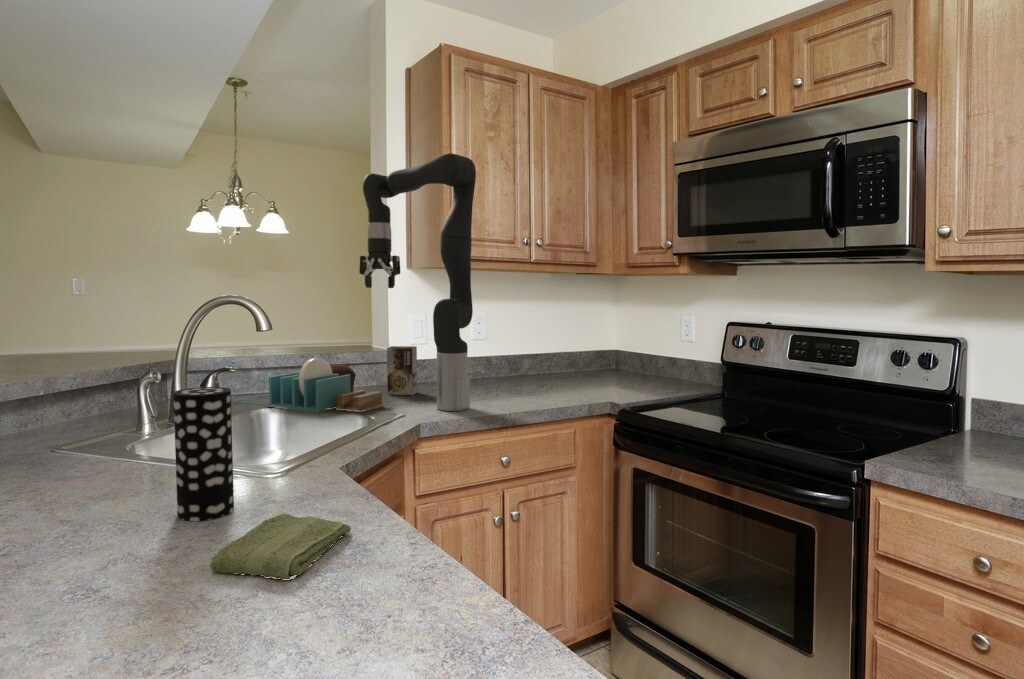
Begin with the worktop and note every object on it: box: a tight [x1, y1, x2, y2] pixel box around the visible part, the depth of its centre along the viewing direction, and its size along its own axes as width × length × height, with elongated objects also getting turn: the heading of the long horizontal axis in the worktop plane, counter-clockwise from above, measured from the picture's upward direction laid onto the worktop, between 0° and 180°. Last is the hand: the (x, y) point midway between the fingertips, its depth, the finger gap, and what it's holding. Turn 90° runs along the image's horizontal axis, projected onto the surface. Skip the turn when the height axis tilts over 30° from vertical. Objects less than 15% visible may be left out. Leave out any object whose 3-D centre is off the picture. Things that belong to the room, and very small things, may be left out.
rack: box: [266, 371, 350, 414], centre depth 196 cm, size 19×16×9 cm
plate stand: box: [335, 389, 384, 411], centre depth 193 cm, size 9×11×4 cm
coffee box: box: [386, 345, 418, 396], centre depth 219 cm, size 9×6×16 cm
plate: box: [299, 357, 332, 397], centre depth 195 cm, size 2×13×13 cm, turn 157°
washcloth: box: [209, 513, 352, 579], centre depth 90 cm, size 13×18×3 cm
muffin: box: [330, 364, 357, 392], centre depth 216 cm, size 12×11×10 cm
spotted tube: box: [172, 386, 235, 522], centre depth 104 cm, size 8×8×20 cm
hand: (379, 287), depth 208 cm, fingers open, 8 cm apart
